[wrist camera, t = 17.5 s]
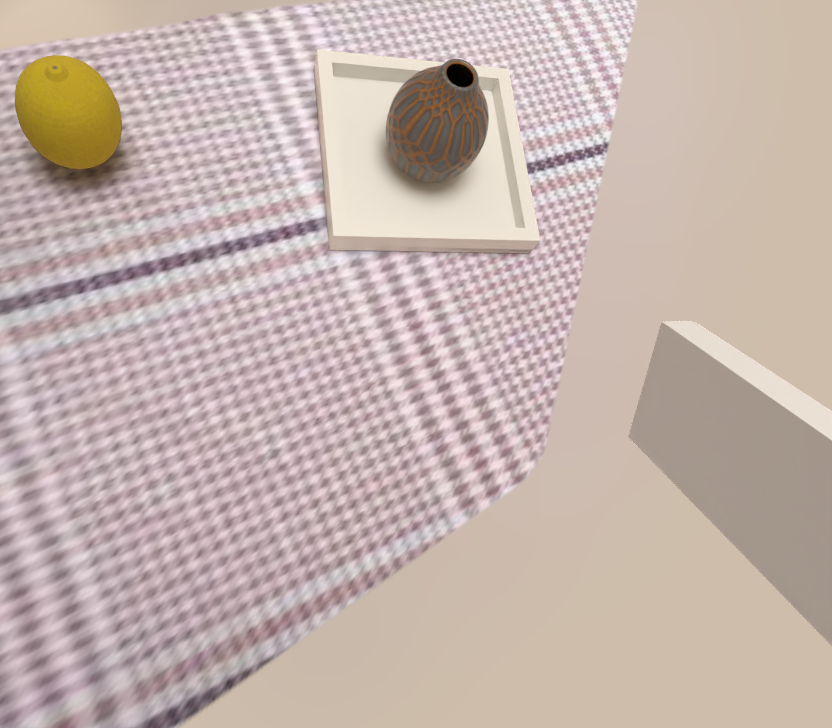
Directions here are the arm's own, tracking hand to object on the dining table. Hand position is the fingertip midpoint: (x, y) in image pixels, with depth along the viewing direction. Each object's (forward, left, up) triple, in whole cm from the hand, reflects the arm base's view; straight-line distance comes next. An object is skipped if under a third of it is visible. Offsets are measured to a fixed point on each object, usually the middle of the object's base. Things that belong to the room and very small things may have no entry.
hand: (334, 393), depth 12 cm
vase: (+13, +26, -29) cm, 41 cm away
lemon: (-10, +25, -30) cm, 40 cm away
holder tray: (+13, +26, -30) cm, 41 cm away
